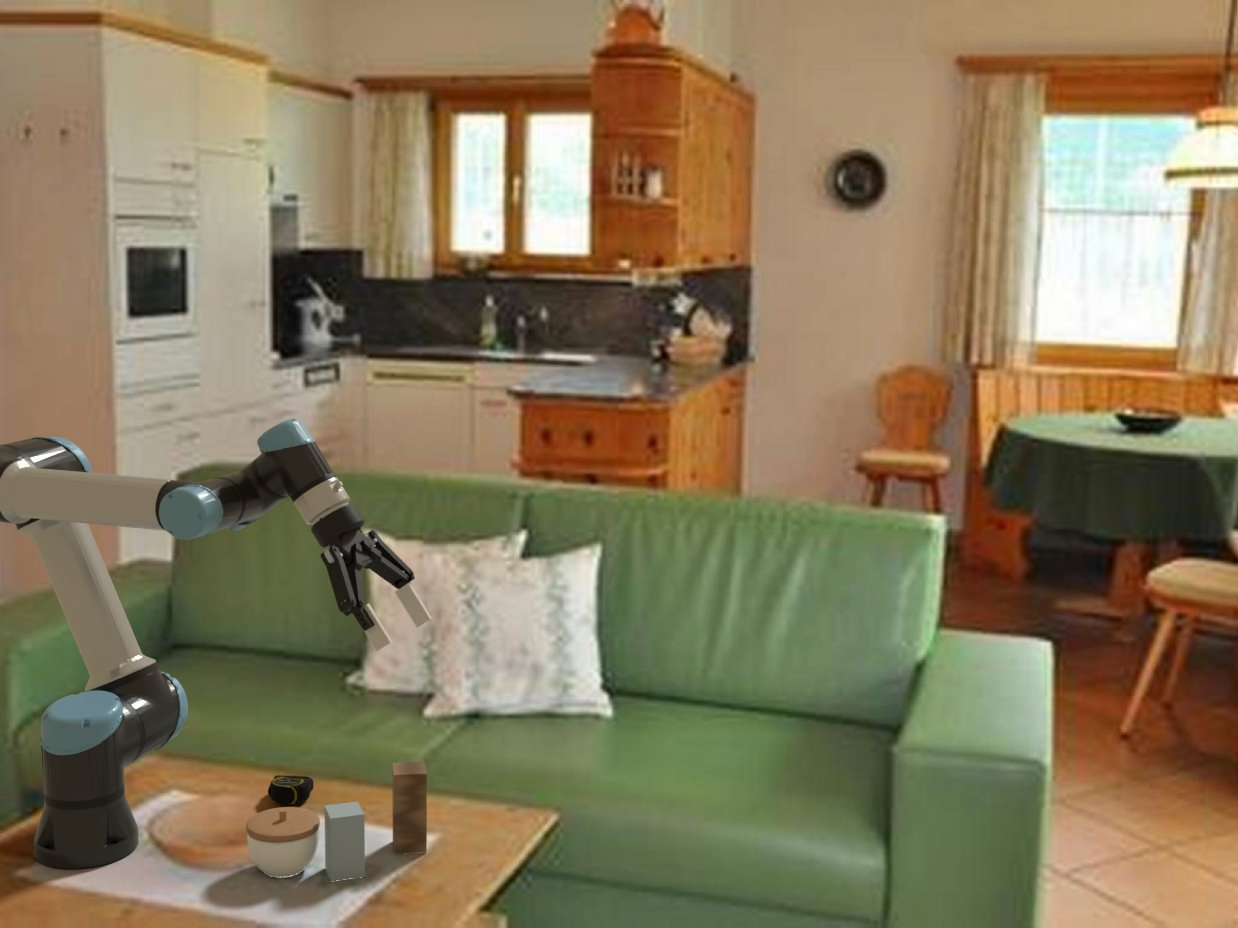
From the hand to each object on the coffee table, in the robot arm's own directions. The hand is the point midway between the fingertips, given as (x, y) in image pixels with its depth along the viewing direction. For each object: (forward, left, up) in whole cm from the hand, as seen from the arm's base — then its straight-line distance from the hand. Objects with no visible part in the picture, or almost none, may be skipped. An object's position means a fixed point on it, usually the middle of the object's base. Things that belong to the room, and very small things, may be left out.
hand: (405, 634), depth 211 cm
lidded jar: (-18, -1, -36) cm, 40 cm away
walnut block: (+1, +4, -36) cm, 36 cm away
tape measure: (-18, +26, -36) cm, 48 cm away
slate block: (-9, -3, -36) cm, 37 cm away
